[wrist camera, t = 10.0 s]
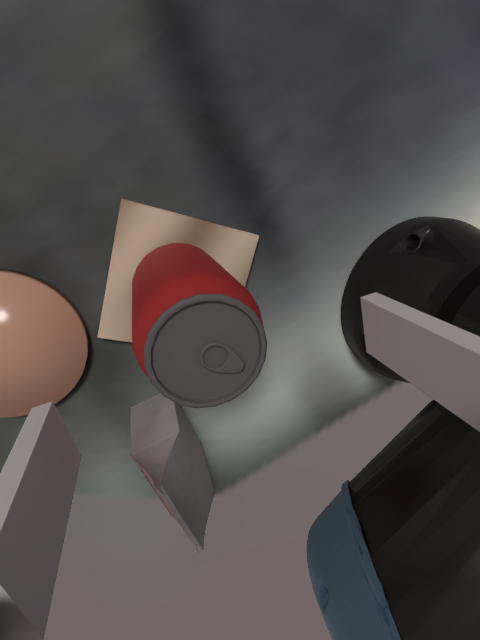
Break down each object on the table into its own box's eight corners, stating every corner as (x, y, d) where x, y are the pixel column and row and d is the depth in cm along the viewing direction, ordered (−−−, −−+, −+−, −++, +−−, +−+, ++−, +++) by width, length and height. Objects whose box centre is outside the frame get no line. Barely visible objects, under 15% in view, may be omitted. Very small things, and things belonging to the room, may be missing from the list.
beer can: (195, 340, 29) (233, 435, 18) (115, 305, 26) (103, 391, 15) (236, 268, 28) (304, 322, 17) (157, 223, 25) (177, 254, 14)
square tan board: (254, 233, 28) (259, 235, 27) (222, 349, 31) (225, 355, 30) (121, 198, 25) (121, 198, 24) (98, 331, 28) (97, 337, 27)
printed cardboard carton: (171, 388, 31) (187, 471, 22) (201, 443, 34) (226, 537, 25) (130, 407, 31) (130, 499, 22) (164, 462, 33) (176, 564, 24)
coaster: (99, 286, 27) (98, 290, 26) (77, 415, 29) (75, 422, 29) (-86, 252, 23) (-95, 255, 22) (-90, 403, 26) (-98, 411, 25)
